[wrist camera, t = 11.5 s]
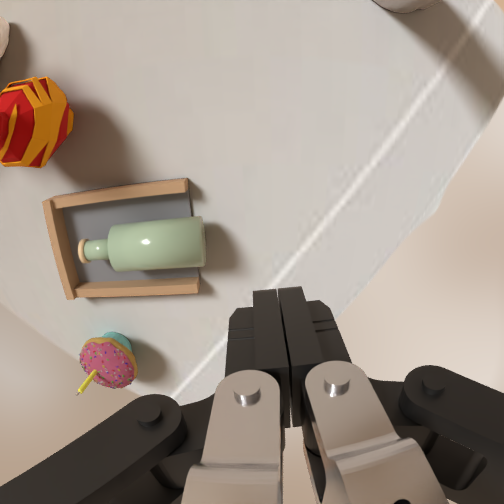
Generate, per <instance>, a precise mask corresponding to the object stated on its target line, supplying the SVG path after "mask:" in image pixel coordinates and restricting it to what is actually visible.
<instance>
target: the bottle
mask: <svg viewBox="0 0 504 504" xmlns="http://www.w3.org/2000/svg"><path fill="white" fill-rule="evenodd" d="M78 255H79V258H80V260H81V262H82V263H90V262H91V261H95V260H108V259H109V260H110V263H111V265H112V267H113V269H114V270H115V271H117V272H126V271H142V270H157V269H172V268H187V267H201V266H205V263H206V239H205V230H204V224H203V220H202V217H201V216H195V217H184V218H173V219H163V220H153V221H143V222H134V223H125V224H116V225H113V226H112V227H111V229H110V231H109V234H108V239H99V240H89V239H81V240H80V242H79V245H78Z"/></svg>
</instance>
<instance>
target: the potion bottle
mask: <svg viewBox="0 0 504 504" xmlns="http://www.w3.org/2000/svg"><path fill="white" fill-rule="evenodd" d="M27 80H32V81H28V82H25V83H22V84H17V85H12V84H16V83H19V82H22V81H27ZM11 85H12V86H11ZM73 118H74V113H73V111H72V110H71V109H70V108H69V104H68V103H67V98H66V95H65V94H64V93H63V91H62V90H60V88H59V87H58V86H57V85H56V83H55V82H54V81H53V80H51V79H50V78H48V77H43V78H39V79H37V77H32V78H29V79H25V80H21V81H16V82H11V83H9V84H8V85H7V87H6V88H5V89H4V90H3V91H1V93H0V162H1V164H2V165H3V166H5V167H11V166H24V167H35V168H41V167H43V166H45V165H46V163H47V161H48V160H49V158H50V157H51V156H52V155H53V153H54V152H55V151H56V150H57V149H58V147H59V146H60V145H61V144H62V143H63V141H64V140H65V139H66V138H67V135H68V134H69V133H70V132H71V131H72V130H73Z"/></svg>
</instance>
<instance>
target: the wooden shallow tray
mask: <svg viewBox="0 0 504 504" xmlns="http://www.w3.org/2000/svg"><path fill="white" fill-rule="evenodd" d="M42 204H43V209H44V214H45V219H46V224H47V228H48V233H49V237H50V241H51V245H52V249H53V253H54V257H55V261H56V264H57V268H58V272H59V275H60V278H61V282H62V285H63V288H64V292H65V295H66V298H67V300H74V299H75V298H76V297H117V296H147V295H171V294H192V293H198V291H199V287H200V279H199V271H198V267H187V268H172V269H157V270H142V271H126V272H117V271H115V270H114V269H113V267H112V265H111V263H110V260H109V259H108V260H95V261H91V262H90V263H82V262H81V260H80V258H79V255H78V245H79V242H80V240H81V239H89V240H99V239H108V234H109V231H110V229H111V227H112V226H113V225H116V224H125V223H134V222H143V221H153V220H163V219H173V218H184V217H192V215H191V206H190V197H189V187H188V178H181V179H171V180H162V181H153V182H145V183H137V184H129V185H122V186H115V187H108V188H101V189H95V190H88V191H82V192H76V193H70V194H64V195H59V196H54V197H52V198H50V199H47V200H45V201H43V202H42Z"/></svg>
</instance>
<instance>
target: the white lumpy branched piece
mask: <svg viewBox="0 0 504 504" xmlns="http://www.w3.org/2000/svg"><path fill="white" fill-rule="evenodd" d="M9 29H10V27H9V24H8V23H7V21H6V20H5V19H4V18H3V17H0V59H1V57H2V55H3V54H4V52H5V49H6V47H7V45H8V41H9Z"/></svg>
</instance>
